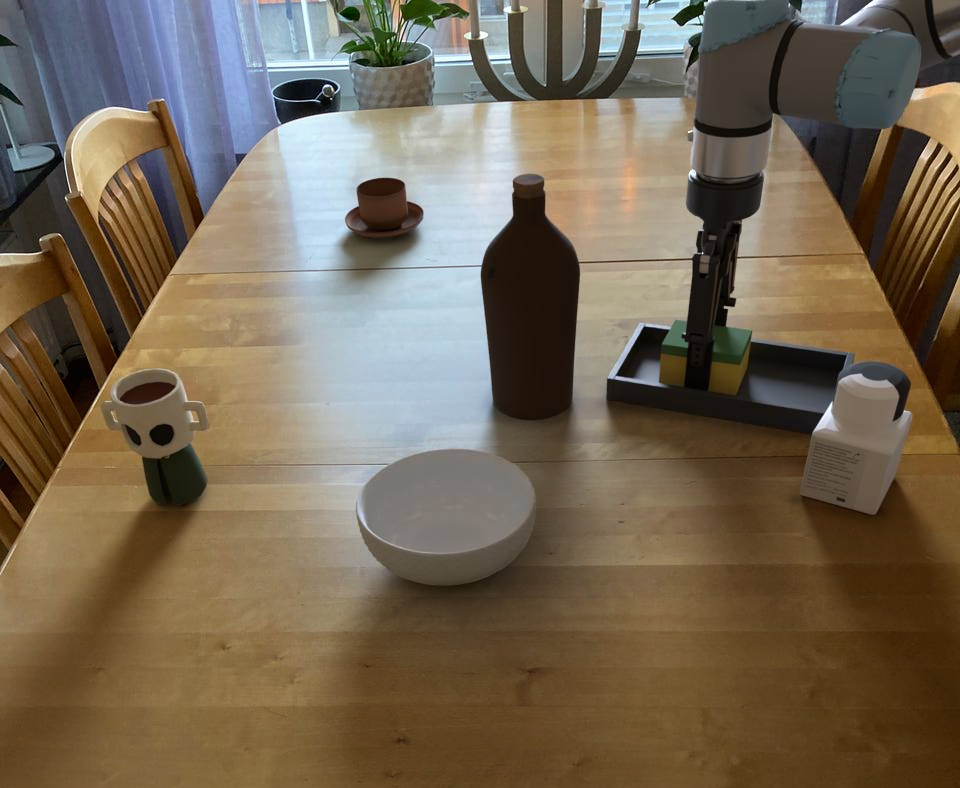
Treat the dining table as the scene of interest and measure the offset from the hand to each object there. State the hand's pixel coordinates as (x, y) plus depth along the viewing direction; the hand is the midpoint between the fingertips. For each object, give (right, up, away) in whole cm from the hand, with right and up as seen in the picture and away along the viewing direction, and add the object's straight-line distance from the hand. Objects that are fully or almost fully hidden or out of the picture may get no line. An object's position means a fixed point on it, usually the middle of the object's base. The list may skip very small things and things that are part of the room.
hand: (703, 373), depth 117 cm
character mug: (-59, -15, -9) cm, 61 cm away
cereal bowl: (-29, -23, -18) cm, 41 cm away
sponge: (0, 0, 0) cm, 0 cm away
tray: (+3, -2, 0) cm, 3 cm away
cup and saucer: (-40, +32, +36) cm, 63 cm away
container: (+12, -15, -14) cm, 24 cm away
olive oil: (-20, -3, +1) cm, 20 cm away
